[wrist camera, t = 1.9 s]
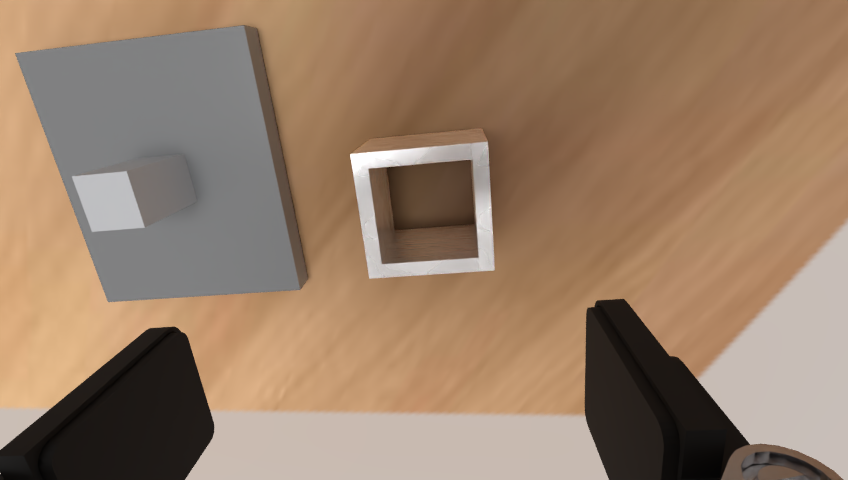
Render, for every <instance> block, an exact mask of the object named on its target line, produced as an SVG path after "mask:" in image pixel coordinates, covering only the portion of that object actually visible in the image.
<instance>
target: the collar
mask: <svg viewBox="0 0 848 480" xmlns="http://www.w3.org/2000/svg"><path fill="white" fill-rule="evenodd" d="M350 156H351V163H352V169H353V175H354V182H355V188H356V195H357V201H358V208H359V214H360V221H361V227H362V234H363V240H364V247H365V253H366V260H367V266H368V272H369V279H370V278H385V277H401V276H416V275H431V274H447V273H462V272H477V271H493V270H495V266H494V247H493V228H492V209H491V190H490V171H489V152H488V141H487V138H486V136H485V134H484V132H483V130H482V128H477V129H467V130H456V131H446V132H435V133H424V134H414V135H403V136H393V137H382V138H372V139H369V140H368V141H367V142H365V143H364V144H363V145H361V146H360V147H359V148H358V149H356V150H355V151H354V152H352V153H351V154H350ZM461 160H471V176H472V191H473V206H474V221H475V224H470V225H457V226H444V227H430V228H417V229H404V230H395V227H394V219H393V212H392V204H391V196H390V188H389V181H388V173H387V167H393V166H404V165H416V164H427V163H438V162H449V161H461Z"/></svg>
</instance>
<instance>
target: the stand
mask: <svg viewBox="0 0 848 480" xmlns="http://www.w3.org/2000/svg"><path fill="white" fill-rule="evenodd" d="M15 54H16V57H17V60H18V62H19V65H20V68H21V70H22V73H23V76H24V78H25V81H26V84H27V86H28V89H29V92H30V94H31V97H32V100H33V102H34V105H35V108H36V110H37V113H38V116H39V119H40V121H41V124H42V127H43V129H44V132H45V135H46V137H47V140H48V143H49V145H50V148H51V151H52V153H53V156H54V159H55V161H56V164H57V167H58V169H59V172H60V175H61V177H62V180H63V183H64V185H65V188H66V191H67V193H68V196H69V199H70V201H71V204H72V207H73V209H74V212H75V215H76V217H77V220H78V223H79V225H80V228H81V231H82V234H83V236H84V239H85V242H86V244H87V247H88V250H89V252H90V255H91V258H92V260H93V263H94V266H95V268H96V271H97V274H98V276H99V279H100V282H101V284H102V287H103V290H104V292H105V295H106V298H107V300H108V302H117V301H132V300H148V299H164V298H180V297H195V296H211V295H227V294H243V293H258V292H274V291H290V290H300V289H301V288H302V287H303V285H304V284H305V282H306V281H307V280H308V276H307V271H306V266H305V262H304V257H303V252H302V247H301V242H300V237H299V232H298V227H297V222H296V218H295V213H294V208H293V203H292V198H291V193H290V188H289V183H288V178H287V174H286V169H285V164H284V159H283V154H282V149H281V144H280V139H279V134H278V130H277V125H276V120H275V115H274V110H273V105H272V100H271V95H270V90H269V86H268V81H267V76H266V71H265V66H264V61H263V56H262V51H261V46H260V42H259V37H258V32H257V28H254V27H249V26H245V25H243V26H234V27H226V28H218V29H210V30H202V31H193V32H185V33H177V34H169V35H161V36H152V37H144V38H136V39H128V40H120V41H111V42H103V43H95V44H87V45H79V46H70V47H62V48H54V49H46V50H38V51H30V52H21V53H15Z"/></svg>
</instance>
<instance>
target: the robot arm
mask: <svg viewBox="0 0 848 480" xmlns="http://www.w3.org/2000/svg"><path fill="white" fill-rule="evenodd" d="M585 415H586V420H587V424H588V427H589V430H590V432H591V435H592V437H593V440H594V442H595V444H596V447H597V450H598V453H599V455H600V458H601V460H602V463H603V465H604V468H605V470H606V473H607V475H608V478H609V480H843V479H842V478H841V477H840V476H839V475H838V474H837V473H836V472H834V471H833V470H832V469H830V468H829V467H827V466H825V465H824V464H822V463H821V462H819V461H817V460H816V459H813V458H811V457H809V456H806V455H805V454H802V453H800V452H798V451H795V450H792V449H788V448H785V447H780V446H776V445H767V444H754V445H750V444H749V443H748V441H747V440H746V439H745V438H744V437H743V435H742V434H741V433H740V432H739V430H738V429H737V428H736V427H735V426H734V424H733V423H732V422H731V421H730V420H729V418H728V417H727V416H726V415H725V413H724V412H723V411H722V410H721V409H720V407H719V406H718V405H717V404H716V402H715V401H714V400H713V399H712V397H711V396H710V395H709V394H708V393H707V391H706V390H705V389H704V388H703V386H701V384H700V383H699V382H698V380H697V379H696V378H695V377H694V375H693V374H692V373H691V372H690V371H689V369H688V368H687V367H686V366H685V364H684V363H683V362H682V361H681V360H680V359H679V358H678V357H674V356H669V355H668V354H667V352H666V351H665V350H664V349H663V347H662V346H661V345H660V343H659V342H658V341H657V340H656V338H655V337H654V336H653V335H652V333H651V332H650V331H649V329H648V328H647V327H646V326H645V324H644V323H643V322H642V321H641V319H640V318H639V317H638V316H637V314H636V313H635V312H634V310H633V309H632V308H631V307H630V305H629V304H628V303H627V302H626V301H625V300H624V299H616V300H599V301H596V303H595V307H591V308H588V309H587V314H586V368H585ZM213 434H214V422H213V419H212V416H211V412H210V409H209V406H208V403H207V399H206V396H205V393H204V389H203V386H202V383H201V380H200V376H199V373H198V370H197V366H196V363H195V360H194V357H193V353H192V350H191V347H190V344H189V340H188V338H187V335H186V334H185V333H183V332H181V331H180V330H179V329H178V328H176V327H163V328H150V329H148V330H146V331H145V332H144V333H142V334H141V335H140V336H139V337H138V338H136V339H135V340H134V341H133V342H131V343H130V344H129V345H128V346H127V347H125V348H124V349H123V350H122V351H121V352H119V353H118V354H117V355H116V356H114V357H113V358H112V359H111V360H110V361H108V362H107V363H106V364H105V365H103V366H102V367H101V368H100V369H99V370H97V371H96V372H95V373H94V374H92V375H91V376H90V377H89V378H88V379H86V380H85V381H84V382H83V383H82V384H80V385H79V386H78V387H77V388H75V389H74V390H73V391H72V392H71V393H69V394H68V395H67V396H66V397H64V398H63V399H62V400H61V401H60V402H58V403H57V404H56V405H55V406H53V407H52V408H51V409H50V410H49V411H47V412H46V413H45V414H44V415H43V416H41V417H40V418H39V419H38V420H36V421H35V422H34V423H33V424H32V425H30V426H29V427H28V428H27V429H25V430H24V431H23V432H22V433H21V434H19V435H18V436H17V437H16V438H15V439H13V440H12V441H11V442H10V443H8V444H7V445H6V446H5V447H3V448H2V449H1V450H0V473H1V474H0V480H185V479H186V477H187V476H188V474H189V473H190V471H191V470H192V468H193V467H194V465H195V464H196V462H197V461H198V459H199V458H200V456H201V455H202V453H203V452H204V450H205V449H206V447H207V446H208V444H209V443H210V441H211V439H212V437H213Z"/></svg>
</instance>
